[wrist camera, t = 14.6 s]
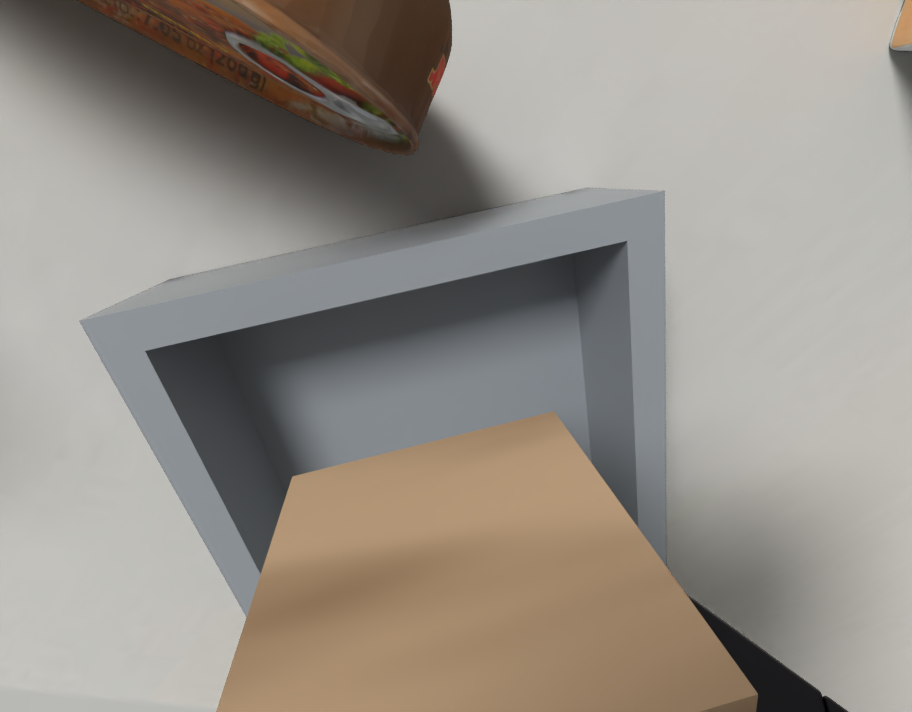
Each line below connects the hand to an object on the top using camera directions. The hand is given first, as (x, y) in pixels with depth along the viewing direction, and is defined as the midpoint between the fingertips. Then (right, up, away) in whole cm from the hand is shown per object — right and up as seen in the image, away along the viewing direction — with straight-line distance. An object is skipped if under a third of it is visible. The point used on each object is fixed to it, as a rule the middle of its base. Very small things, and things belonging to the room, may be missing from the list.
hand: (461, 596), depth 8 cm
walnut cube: (0, 0, +1) cm, 1 cm away
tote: (0, -1, +11) cm, 11 cm away
